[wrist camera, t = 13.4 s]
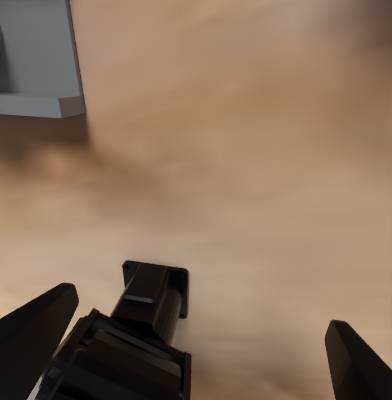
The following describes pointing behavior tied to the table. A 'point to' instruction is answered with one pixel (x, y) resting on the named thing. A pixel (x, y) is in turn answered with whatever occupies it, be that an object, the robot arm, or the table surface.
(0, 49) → the jar
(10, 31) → the pusher lane
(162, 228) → the table surface
